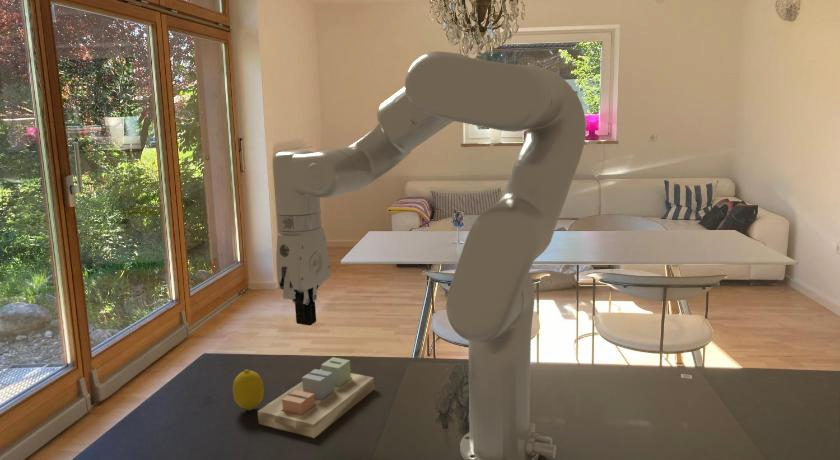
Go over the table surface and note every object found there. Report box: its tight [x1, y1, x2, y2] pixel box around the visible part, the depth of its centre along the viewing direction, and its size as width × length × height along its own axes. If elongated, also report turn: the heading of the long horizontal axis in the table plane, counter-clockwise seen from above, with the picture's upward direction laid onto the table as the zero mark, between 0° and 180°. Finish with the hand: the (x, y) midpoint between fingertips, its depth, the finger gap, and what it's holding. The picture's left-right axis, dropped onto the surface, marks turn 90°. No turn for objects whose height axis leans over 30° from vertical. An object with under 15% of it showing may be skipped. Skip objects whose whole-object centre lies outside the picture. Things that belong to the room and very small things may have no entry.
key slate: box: [301, 368, 334, 401], centre depth 119 cm, size 4×4×4 cm
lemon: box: [232, 369, 265, 411], centre depth 118 cm, size 6×6×8 cm
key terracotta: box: [282, 390, 315, 416], centre depth 114 cm, size 5×4×4 cm
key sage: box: [320, 356, 352, 387], centre depth 124 cm, size 4×4×4 cm
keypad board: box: [257, 368, 375, 439], centre depth 119 cm, size 12×20×2 cm, turn 153°
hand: (306, 323), depth 114 cm, fingers closed
